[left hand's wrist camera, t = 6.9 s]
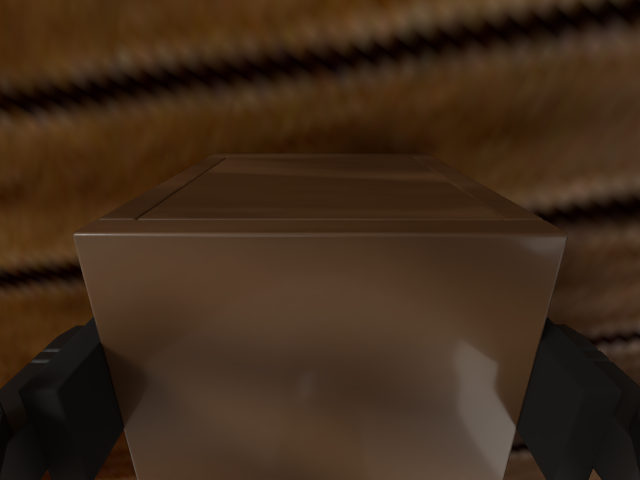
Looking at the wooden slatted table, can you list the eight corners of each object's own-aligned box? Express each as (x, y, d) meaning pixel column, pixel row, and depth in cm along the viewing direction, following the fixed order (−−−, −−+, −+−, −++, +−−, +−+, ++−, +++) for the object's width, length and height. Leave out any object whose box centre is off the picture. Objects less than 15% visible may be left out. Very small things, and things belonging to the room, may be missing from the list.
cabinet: (395, 455, 25) (445, 697, 15) (244, 455, 25) (194, 696, 15) (428, 153, 17) (571, 233, 7) (212, 153, 17) (69, 232, 7)
